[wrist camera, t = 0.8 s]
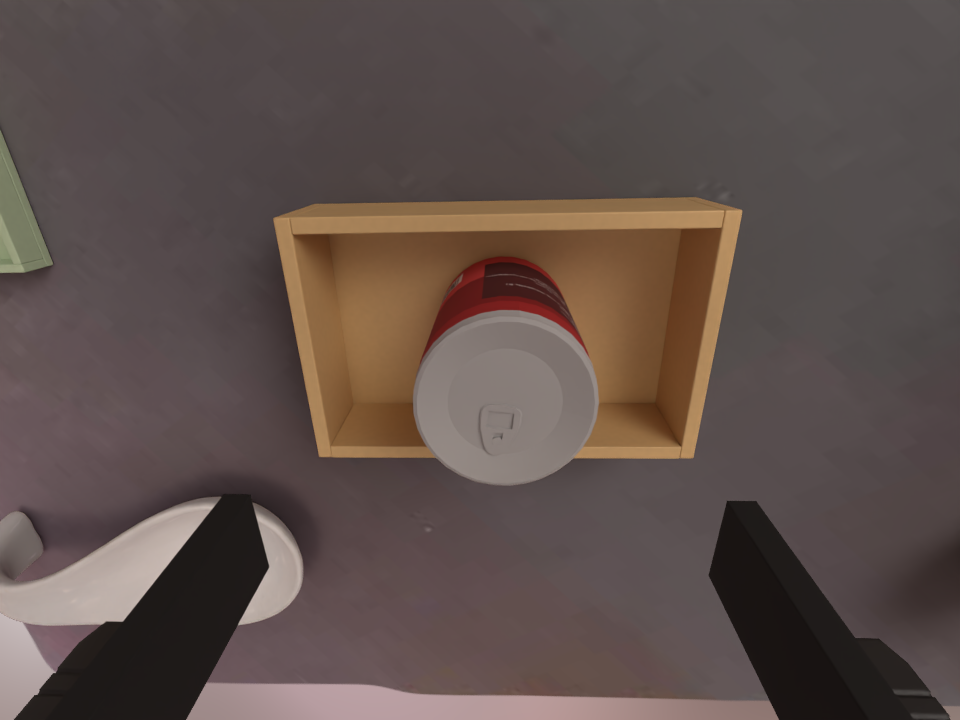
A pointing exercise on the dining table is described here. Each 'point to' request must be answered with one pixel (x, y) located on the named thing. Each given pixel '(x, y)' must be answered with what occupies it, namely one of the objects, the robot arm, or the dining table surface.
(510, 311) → the canned food
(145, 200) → the dining table surface
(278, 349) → the dining table surface
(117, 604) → the spoon rest
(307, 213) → the open wooden box
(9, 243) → the tray
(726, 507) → the robot arm
